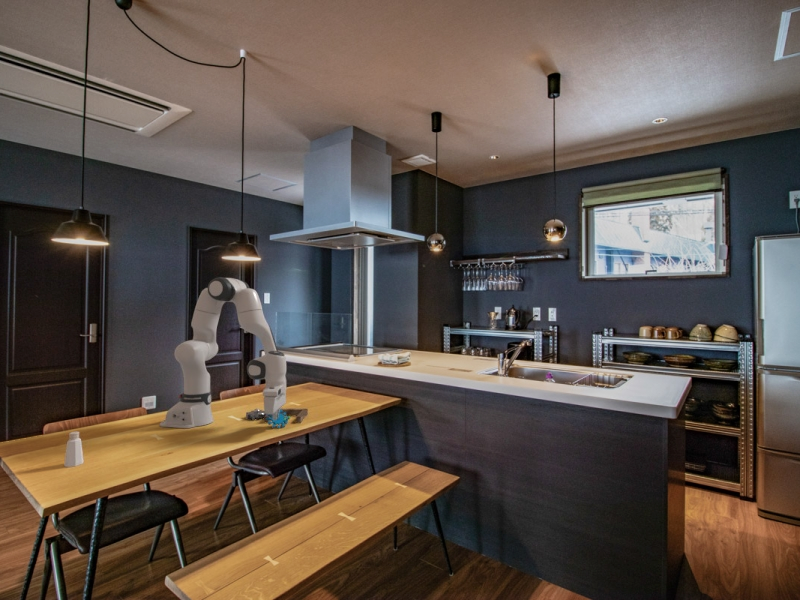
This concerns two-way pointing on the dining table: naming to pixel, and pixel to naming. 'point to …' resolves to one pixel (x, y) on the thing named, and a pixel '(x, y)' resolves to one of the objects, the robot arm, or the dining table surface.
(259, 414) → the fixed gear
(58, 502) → the dining table surface
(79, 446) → the pepper shaker
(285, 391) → the robot arm
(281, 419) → the gear
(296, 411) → the brown bracket
